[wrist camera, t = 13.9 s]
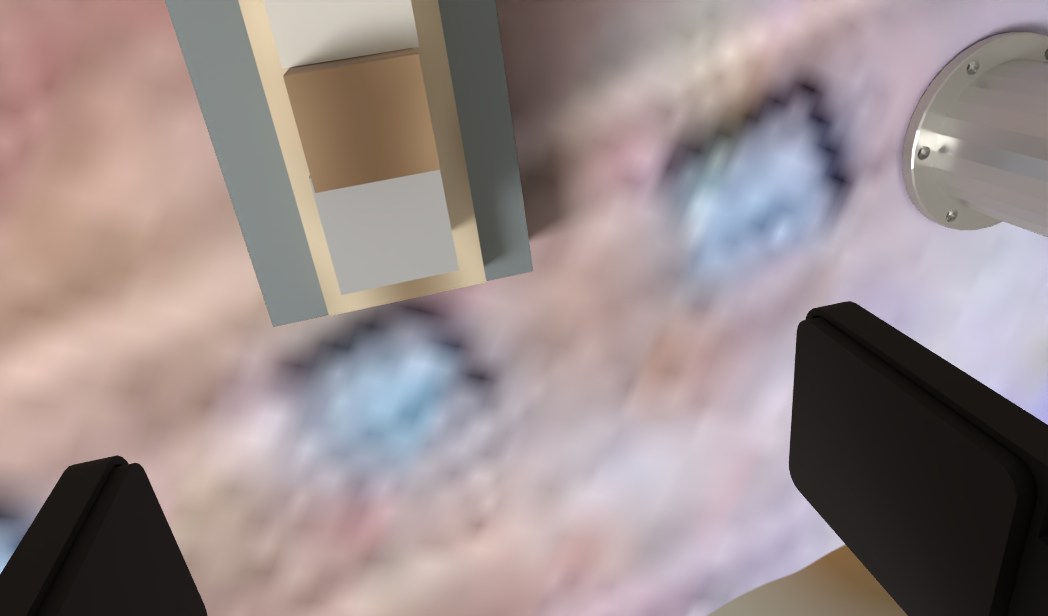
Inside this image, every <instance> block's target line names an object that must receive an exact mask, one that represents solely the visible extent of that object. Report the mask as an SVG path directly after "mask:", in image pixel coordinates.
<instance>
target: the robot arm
mask: <svg viewBox="0 0 1048 616" xmlns="http://www.w3.org/2000/svg"><path fill="white" fill-rule="evenodd" d="M902 163H903V178H904V182H905V186H906V190H907V192H908V195H909V197H910V199H911V201H912V203H913V204H914V205H915V207H916V208H917V209H918V210H919V211H920V213H921V214H923V215H924V216H925V217H927V218H928V219H930V220H931V221H933V222H935V223H938V224H940V225H943V226H945V227H948V228H952V229H957V230H978V229H982V228H987V227H991V226H993V225H996V224H998V223H1001V222H1006V223H1009V224H1012V225H1015V226H1017V227H1020V228H1023V229H1026V230H1029V231H1032V232H1034V233H1037V234H1040V235H1043V236H1046V237H1048V35H1043V34H1038V33H1033V32H1008V33H1003V34H998V35H994V36H992V37H989V38H987V39H984V40H982V41H979V42H977V43H976V44H974V45H973V46H971V47H969V48H968V49H966V50H965V51H963V52H961V53H960V54H959V55H958V56H957V57H956V58H955V59H953V60H952V61H951V62H950V63H949V64H948V65H946V66H945V68H944V69H943V70H942V71H941V72H940V73H939V74H938V76H937V77H936V78H935V79H934V80H933V81H932V83H931V84H930V86H929V87H928V89H927V90H926V92H925V93H924V95H923V96H922V98H921V99H920V101H919V103H918V105H917V108H916V110H915V112H914V114H913V116H912V118H911V121H910V124H909V127H908V131H907V134H906V137H905V142H904V149H903V156H902ZM789 470H790V475H791V478H792V480H793V482H794V484H795V486H796V487H797V489H798V490H799V491H800V493H801V494H802V495H803V496H804V497H805V498H806V499H807V501H808V502H809V503H810V504H811V505H812V506H813V507H814V509H815V510H816V511H817V512H818V513H819V514H820V515H821V517H822V518H823V519H824V520H825V521H826V522H827V523H828V525H829V526H830V527H831V528H832V529H833V530H834V531H835V533H836V534H837V535H838V536H839V537H840V538H841V539H842V541H843V542H844V543H845V544H846V545H847V546H848V547H849V548H850V550H851V551H852V552H853V553H854V554H855V556H856V557H857V558H858V559H859V560H860V561H861V562H862V563H863V565H864V566H865V567H866V568H867V569H868V570H869V572H870V573H871V574H872V575H873V576H874V577H875V578H876V580H877V581H878V582H879V583H880V584H881V585H882V586H883V588H884V589H885V590H886V591H887V592H888V593H889V594H890V595H891V597H892V598H893V599H894V600H895V601H896V602H897V604H898V605H899V606H900V607H901V608H902V609H903V610H904V611H905V613H906V614H907V615H908V616H1048V425H1047V424H1045V423H1044V422H1042V421H1041V420H1039V419H1037V418H1036V417H1034V416H1033V415H1031V414H1030V413H1028V412H1026V411H1025V410H1023V409H1022V408H1020V407H1019V406H1017V405H1015V404H1014V403H1012V402H1011V401H1009V400H1008V399H1006V398H1004V397H1003V396H1001V395H1000V394H998V393H996V392H995V391H993V390H992V389H990V388H989V387H987V386H985V385H984V384H982V383H981V382H979V381H978V380H976V379H974V378H973V377H971V376H970V375H968V374H966V373H965V372H963V371H962V370H960V369H959V368H957V367H955V366H954V365H952V364H951V363H949V362H948V361H946V360H944V359H943V358H941V357H940V356H938V355H936V354H935V353H933V352H932V351H930V350H929V349H927V348H925V347H924V346H922V345H921V344H919V343H918V342H916V341H914V340H913V339H911V338H910V337H908V336H906V335H905V334H903V333H902V332H900V331H899V330H897V329H895V328H894V327H892V326H891V325H889V324H888V323H886V322H884V321H883V320H881V319H880V318H878V317H876V316H875V315H873V314H872V313H870V312H869V311H867V310H865V309H864V308H862V307H861V306H859V305H858V304H856V303H853V302H851V301H848V302H842V303H837V304H832V305H828V306H823V307H818V308H813V309H812V310H810V311H809V312H808V314H807V316H806V320H803V321H802V322H800V323H799V325H798V328H797V338H796V355H795V371H794V388H793V404H792V421H791V437H790V454H789ZM0 616H207V612H206V608H205V605H204V603H203V601H202V599H201V596H200V594H199V592H198V590H197V587H196V585H195V583H194V581H193V578H192V576H191V574H190V572H189V569H188V567H187V565H186V563H185V560H184V558H183V556H182V554H181V551H180V549H179V547H178V545H177V542H176V540H175V538H174V536H173V533H172V531H171V529H170V527H169V524H168V522H167V520H166V518H165V515H164V513H163V511H162V509H161V506H160V504H159V502H158V500H157V497H156V495H155V493H154V491H153V488H152V486H151V484H150V482H149V479H148V477H147V475H146V473H145V471H144V469H143V467H142V466H141V465H140V464H138V463H133V464H128V462H127V461H126V460H125V459H124V458H123V457H121V456H113V457H108V458H103V459H98V460H94V461H89V462H84V463H80V464H75V465H72V466H69V467H68V468H67V469H66V470H65V471H64V473H63V474H62V476H61V477H60V479H59V481H58V482H57V484H56V485H55V487H54V489H53V490H52V492H51V494H50V495H49V497H48V498H47V500H46V502H45V503H44V505H43V506H42V508H41V510H40V511H39V513H38V514H37V516H36V518H35V519H34V521H33V523H32V524H31V526H30V527H29V529H28V531H27V532H26V534H25V535H24V537H23V539H22V540H21V542H20V543H19V545H18V547H17V548H16V550H15V552H14V553H13V555H12V556H11V558H10V560H9V561H8V563H7V564H6V566H5V568H4V569H3V571H2V572H1V574H0Z"/></svg>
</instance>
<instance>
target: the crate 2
mask: <svg viewBox="0 0 1048 616" xmlns="http://www.w3.org/2000/svg"><path fill="white" fill-rule="evenodd" d="M309 180H310V184H311V188H312V191H313V195H314V198H315V202H316V206H317V209H318V213H319V216H320V220H321V224H322V227H323V231H324V234H325V238H326V241H327V245H328V249H329V252H330V256H331V259H332V263H333V267H334V270H335V274H336V277H337V281H338V285H339V288H340V292H341V295H345V294H350V293H354V292H359V291H364V290H368V289H373V288H378V287H382V286H387V285H392V284H397V283H401V282H406V281H411V280H415V279H420V278H425V277H429V276H434V275H439V274H444V273H448V272H453V271H458V270H459V266H458V261H457V256H456V251H455V246H454V240H453V235H452V230H451V225H450V220H449V215H448V209H447V204H446V199H445V194H444V189H443V183H442V178H441V173H440V170H436V171H430V172H425V173H420V174H414V175H409V176H404V177H398V178H393V179H388V180H383V181H377V182H372V183H367V184H361V185H356V186H351V187H345V188H340V189H335V190H329V191H324V192H319V193H315V191H314V187H313V184H312V180H311V176H309Z"/></svg>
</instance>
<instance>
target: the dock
mask: <svg viewBox="0 0 1048 616" xmlns="http://www.w3.org/2000/svg"><path fill="white" fill-rule="evenodd" d="M165 2H166V5H167V8H168V11H169V14H170V17H171V20H172V23H173V26H174V29H175V32H176V35H177V38H178V41H179V44H180V47H181V50H182V53H183V56H184V59H185V62H186V66H187V69H188V72H189V75H190V78H191V81H192V84H193V87H194V90H195V93H196V96H197V99H198V102H199V105H200V108H201V111H202V114H203V117H204V120H205V123H206V126H207V129H208V132H209V135H210V138H211V141H212V144H213V147H214V150H215V153H216V156H217V159H218V162H219V165H220V168H221V171H222V174H223V177H224V180H225V183H226V186H227V189H228V192H229V195H230V198H231V201H232V204H233V207H234V210H235V213H236V216H237V219H238V222H239V225H240V228H241V231H242V234H243V237H244V240H245V243H246V246H247V249H248V252H249V255H250V258H251V261H252V264H253V267H254V270H255V273H256V276H257V279H258V282H259V285H260V288H261V291H262V295H263V298H264V301H265V304H266V307H267V310H268V313H269V316H270V319H271V322H272V325H273V327H275V326H280V325H285V324H289V323H294V322H299V321H303V320H308V319H313V318H317V317H322V316H326V315H329V314H328V311H327V307H326V304H325V300H324V297H323V293H322V290H321V286H320V283H319V279H318V276H317V272H316V269H315V265H314V262H313V259H312V255H311V252H310V248H309V245H308V241H307V238H306V234H305V231H304V227H303V224H302V220H301V217H300V213H299V210H298V206H297V203H296V200H295V196H294V193H293V189H292V186H291V182H290V179H289V175H288V172H287V168H286V165H285V161H284V158H283V154H282V151H281V148H280V144H279V141H278V137H277V134H276V130H275V127H274V123H273V120H272V116H271V113H270V109H269V106H268V102H267V99H266V95H265V92H264V89H263V85H262V82H261V78H260V75H259V71H258V68H257V64H256V61H255V57H254V54H253V50H252V47H251V43H250V40H249V36H248V33H247V30H246V26H245V23H244V19H243V16H242V12H241V9H240V5H239V2H238V0H165ZM438 4H439V10H440V16H441V22H442V28H443V33H444V39H445V45H446V51H447V57H448V62H449V68H450V74H451V80H452V86H453V91H454V97H455V103H456V109H457V115H458V120H459V126H460V132H461V138H462V144H463V149H464V155H465V161H466V167H467V173H468V178H469V184H470V190H471V196H472V202H473V207H474V213H475V219H476V225H477V231H478V236H479V242H480V248H481V254H482V260H483V265H484V271H485V277H486V281H489V280H494V279H499V278H503V277H508V276H513V275H517V274H522V273H527V272H531V271H533V266H532V259H531V252H530V245H529V237H528V230H527V223H526V216H525V209H524V202H523V195H522V187H521V180H520V173H519V166H518V159H517V152H516V145H515V138H514V130H513V123H512V116H511V109H510V102H509V95H508V88H507V80H506V73H505V66H504V59H503V52H502V45H501V38H500V30H499V23H498V16H497V9H496V2H495V0H438Z"/></svg>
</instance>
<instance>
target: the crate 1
mask: <svg viewBox="0 0 1048 616" xmlns="http://www.w3.org/2000/svg"><path fill="white" fill-rule="evenodd" d="M263 1H264V5H265V8H266V12H267V16H268V19H269V23H270V27H271V30H272V34H273V38H274V41H275V45H276V49H277V53H278V56H279V60H280V64H281V67H282V69H283V68H289V67H296V66H302V65H308V64H315V63H321V62H327V61H333V60H340V59H346V58H352V57H358V56H365V55H371V54H377V53H384V52H390V51H396V50H402V49H409V48H415V47H419V42H418V36H417V31H416V25H415V20H414V15H413V9H412V4H411V0H263Z"/></svg>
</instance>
